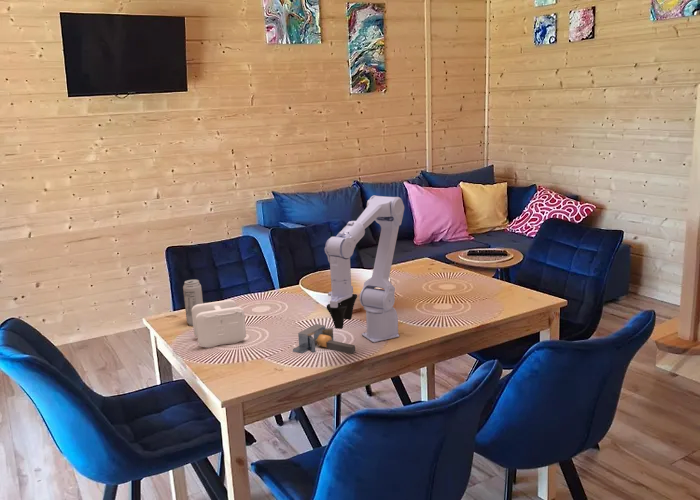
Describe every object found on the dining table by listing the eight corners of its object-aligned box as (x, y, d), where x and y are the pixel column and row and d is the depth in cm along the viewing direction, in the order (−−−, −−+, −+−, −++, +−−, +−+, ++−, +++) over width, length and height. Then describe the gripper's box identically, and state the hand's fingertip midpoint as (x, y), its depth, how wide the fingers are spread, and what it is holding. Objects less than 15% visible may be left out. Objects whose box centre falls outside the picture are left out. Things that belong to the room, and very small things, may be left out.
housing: (338, 338, 204) (337, 323, 203) (309, 355, 192) (308, 339, 191) (322, 335, 207) (321, 320, 206) (293, 351, 195) (291, 336, 194)
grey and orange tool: (356, 350, 194) (356, 339, 193) (350, 354, 191) (349, 343, 190) (321, 343, 201) (321, 332, 200) (314, 347, 198) (313, 335, 197)
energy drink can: (208, 322, 224) (204, 280, 221) (194, 327, 220) (189, 285, 216) (197, 319, 228) (193, 278, 225) (183, 324, 224) (178, 282, 220)
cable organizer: (240, 331, 214) (237, 298, 211) (247, 342, 204) (244, 307, 202) (194, 339, 209) (190, 305, 206) (198, 350, 199) (195, 314, 197)
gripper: (336, 270, 193) (338, 314, 196) (318, 285, 179) (321, 331, 183) (358, 271, 191) (361, 315, 194) (342, 286, 177) (345, 333, 180)
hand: (343, 323), depth 188 cm, fingers open, 7 cm apart
